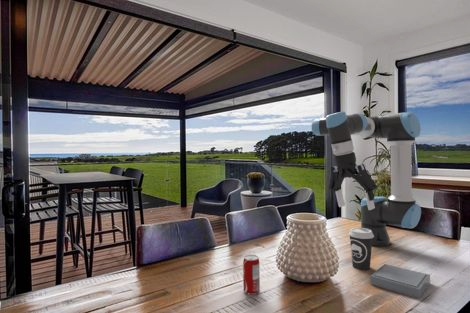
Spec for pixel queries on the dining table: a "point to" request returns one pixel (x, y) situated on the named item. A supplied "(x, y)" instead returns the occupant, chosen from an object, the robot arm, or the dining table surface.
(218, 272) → the dining table surface
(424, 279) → the slate base
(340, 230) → the dining table surface
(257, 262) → the soda can
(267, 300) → the dining table surface
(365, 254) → the coffee cup
